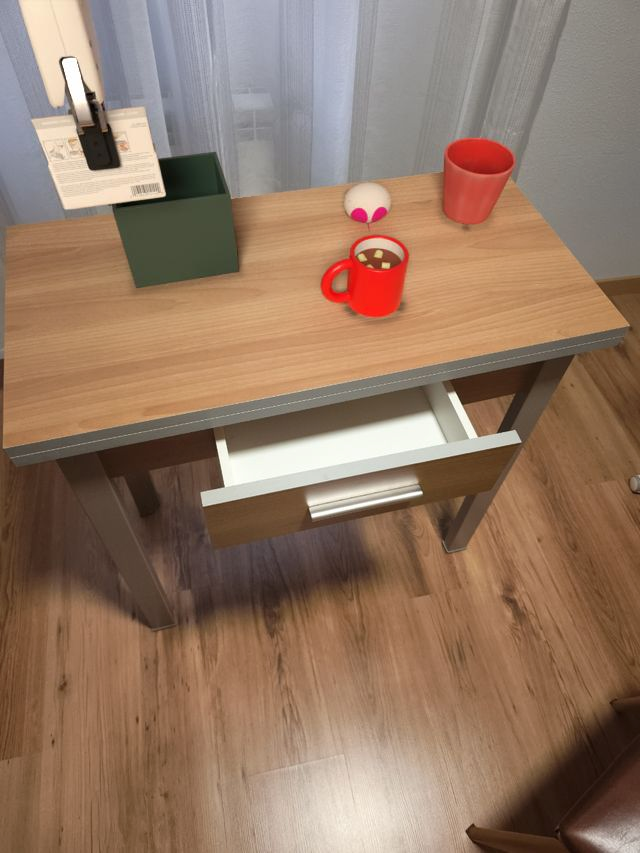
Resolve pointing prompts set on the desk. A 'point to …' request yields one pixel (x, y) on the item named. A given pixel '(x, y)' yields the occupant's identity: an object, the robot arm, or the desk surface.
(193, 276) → the green hollow box
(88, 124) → the robot arm
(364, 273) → the mug
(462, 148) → the flower pot
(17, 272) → the desk surface
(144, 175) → the ink cartridge box
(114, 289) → the desk surface
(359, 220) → the toy mouse
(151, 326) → the desk surface
